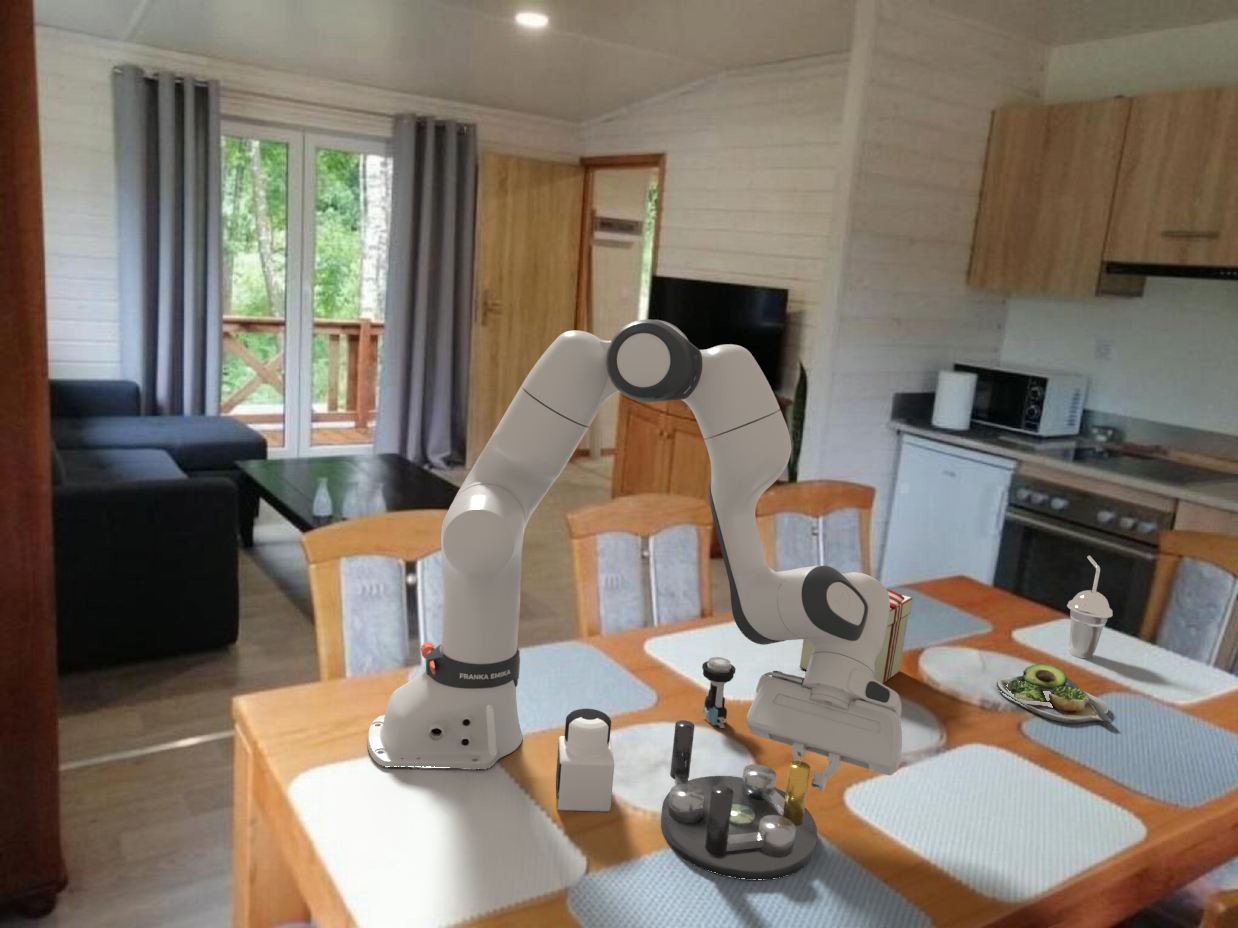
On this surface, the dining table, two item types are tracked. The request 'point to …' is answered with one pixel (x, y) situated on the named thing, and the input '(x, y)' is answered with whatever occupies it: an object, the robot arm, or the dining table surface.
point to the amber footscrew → (762, 785)
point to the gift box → (893, 642)
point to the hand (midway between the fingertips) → (807, 784)
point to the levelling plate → (743, 820)
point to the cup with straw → (1087, 619)
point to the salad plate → (1055, 695)
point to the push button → (717, 688)
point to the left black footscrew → (684, 777)
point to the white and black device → (585, 763)
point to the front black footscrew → (770, 838)
